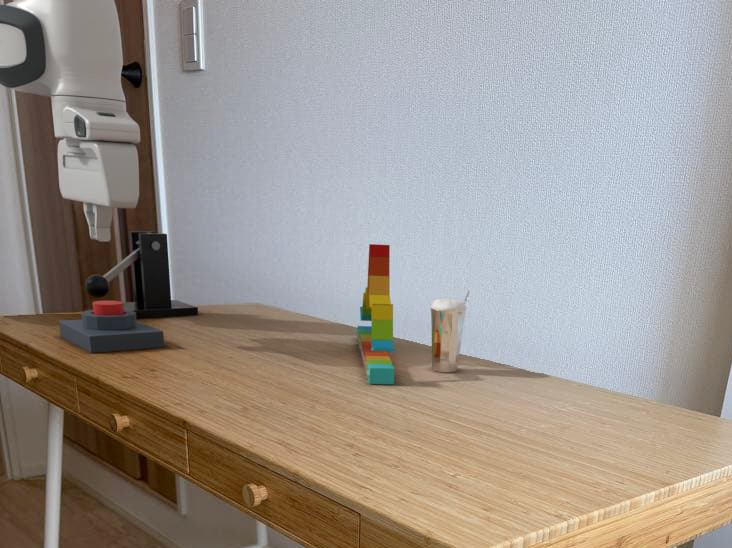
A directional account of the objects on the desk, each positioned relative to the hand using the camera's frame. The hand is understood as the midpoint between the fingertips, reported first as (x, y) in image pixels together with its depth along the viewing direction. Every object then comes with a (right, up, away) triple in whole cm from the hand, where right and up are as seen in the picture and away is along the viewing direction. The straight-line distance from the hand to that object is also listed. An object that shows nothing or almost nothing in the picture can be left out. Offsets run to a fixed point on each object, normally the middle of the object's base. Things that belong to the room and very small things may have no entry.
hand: (100, 240), depth 111 cm
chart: (+36, -15, +3) cm, 39 cm away
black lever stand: (-2, -2, +30) cm, 30 cm away
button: (0, -9, +4) cm, 10 cm away
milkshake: (+46, -18, -1) cm, 50 cm away
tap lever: (-4, +3, +25) cm, 26 cm away
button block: (0, -12, +5) cm, 13 cm away
